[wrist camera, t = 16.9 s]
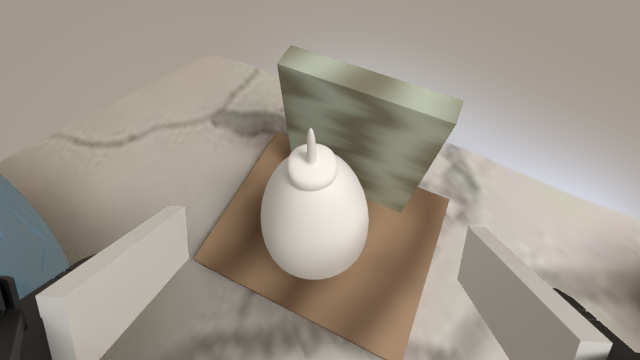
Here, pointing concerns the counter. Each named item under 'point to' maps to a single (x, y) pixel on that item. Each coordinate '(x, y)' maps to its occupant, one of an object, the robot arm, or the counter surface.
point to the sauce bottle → (314, 213)
